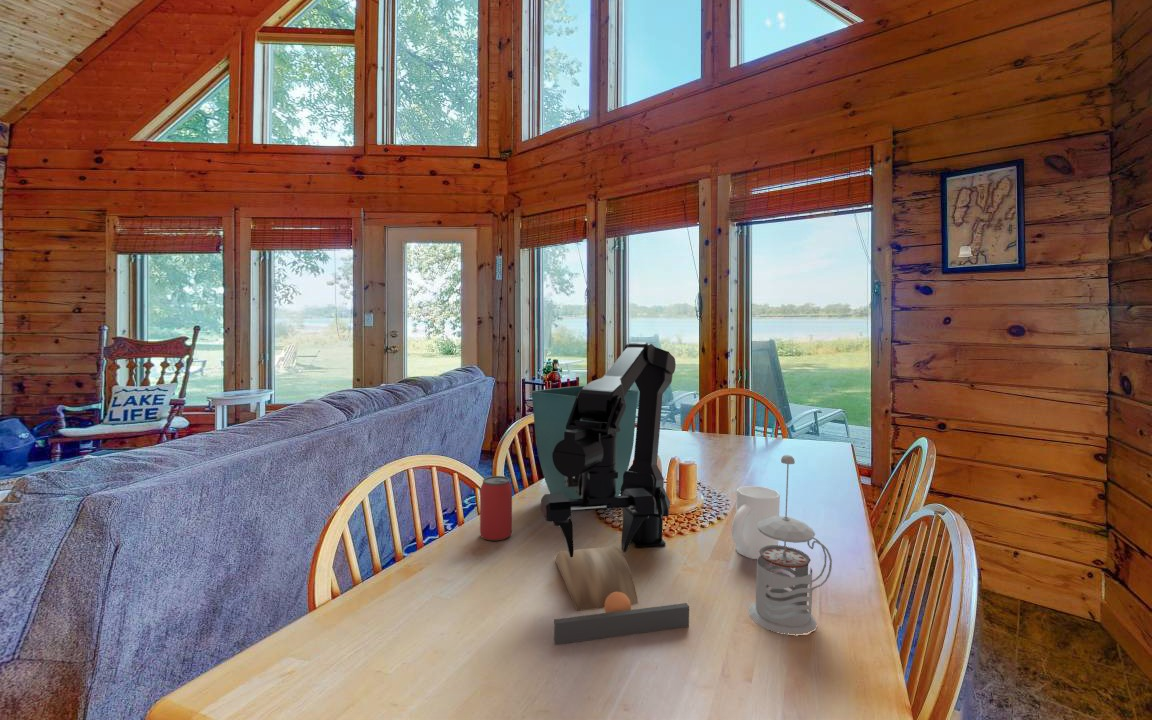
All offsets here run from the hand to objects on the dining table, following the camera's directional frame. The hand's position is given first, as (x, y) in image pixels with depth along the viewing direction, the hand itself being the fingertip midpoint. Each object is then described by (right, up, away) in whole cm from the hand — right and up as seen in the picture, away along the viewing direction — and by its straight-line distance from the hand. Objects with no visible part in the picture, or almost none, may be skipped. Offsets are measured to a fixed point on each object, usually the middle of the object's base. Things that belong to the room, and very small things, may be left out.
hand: (597, 553), depth 84 cm
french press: (+29, -7, -8) cm, 31 cm away
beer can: (-21, -5, +21) cm, 30 cm away
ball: (+3, -4, -10) cm, 11 cm away
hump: (-1, -23, +4) cm, 23 cm away
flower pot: (-2, -4, +45) cm, 45 cm away
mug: (+31, -6, +14) cm, 34 cm away
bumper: (+3, -6, -13) cm, 15 cm away
